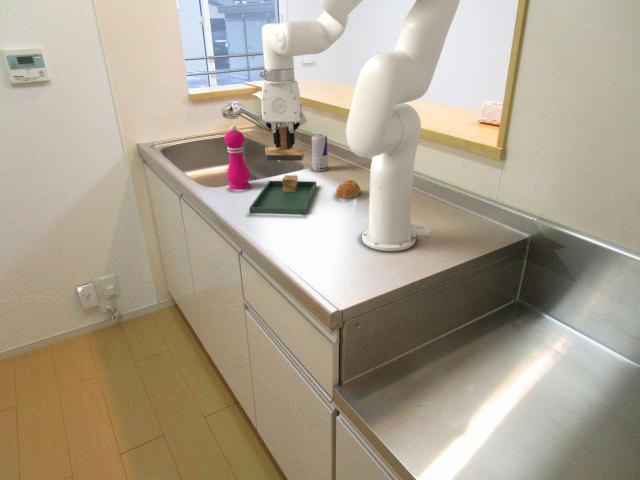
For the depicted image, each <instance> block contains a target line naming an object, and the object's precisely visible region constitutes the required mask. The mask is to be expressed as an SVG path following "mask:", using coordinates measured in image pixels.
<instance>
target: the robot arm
mask: <svg viewBox="0 0 640 480" xmlns="http://www.w3.org/2000/svg"><path fill="white" fill-rule="evenodd" d="M363 1H364V0H318V2H319V4H320V5H321V7H322V9H323V10H324V11H323V12H322V13H321V14H320V15H319V16H318V17H317V18H316V19H314V20H292V21H291V20H289V21H283V22H272V23H271V22H270V23H266V24H265V23H264V24H263V26H262V27H261V41H262V52H263V65H264V67H263V68H264V69H263V71H259V77H260V78H263V79H264V81H263V82H262V84H261V115H260V118H259V120H258V123H259V124H261V125H263V126H265V127H266V128H267V129H269V131H271V133H272V135H273V144H274V145H275V147H276V148H279V147H280V145H279V131H278V126H279V123H287V126H289V133H288V147H289V148H292V147H294V145H295V144H296V138H295V137H296V136H295V135H296V134H295V131H296V130H298V128H299V127H301V126H303V125H305V124H306V123H307V122H308V119H307V117H306V116H305V113H304V112H303V109H302V100H301V91H300V87H299V83H298V80H296V79H295V78H296V77H295V61H294V60H295V59H294V57H298V56H299V57H300V56H307V55H319V54H321V53H323V52H325V51H327V50H328V49H330V48H331V47H332V46H333V45H334V44H335V43H336V42H337V41H338V40H339V39H340V38H341V37H342V35H343V34H344V33H345V30H346V28H347V25H348V21H349V15H350V14H351V13H352V12H353V11H354V10H355V8H357V7H358V6H359V5H360V4H361V3H362V2H363ZM460 2H461V0H415V2H414V4H413V5H412V7H411V8H410V10H409V11H408V13H407V14H406V16H405V18H404V20H403V23H402V25H401V29H400V33H399V37H398V39H397V42H396V45H395V48H394V50H393V51H390V52H389V51H388V52H383V53H379V54H376V55H374V56H372V57H370V58H369V59H368V60H367V61H366V62H365V63H364V65H363V67H362V68H361V70H360V72H359V74H358V76H357V81H356V84H355V88H354V92H353V96H352V100H351V105H350V108H349V113H348V117H347V119H346V120H347V121H346V126H345V139H346V142H347V145H348V147H349V149H350V151H351V152H352V153H353V154H354V155H356V156H358V157H360V158H365V159H366V158H367V159H368V158H371V162H370V169H369V199H368V200H369V202H368V203H369V205H368V206H369V207H368V228H366V229H365V230H364V231H363V232H362V235H361V241H362V242H363V244H365V246H367V247H369V248H371V249H373V250H376V251H381V252H400V251H404V250H407V249H410V248H412V246H414V245H415V244H416V240H417V239H416V238H417V237H422V238H423V237H425V238H426V237H427V238H429V237H431V236H430V235H431V229H430V227H429V228H428V227H427V228H425V226H424V224H414V223H412V219H411V212H412V197H413V182H414V170H415V162H416V161H415V160H416V154H417V149H418V145H419V141H420V136H421V133H422V132H421V131H422V122H421V117H420V115H419V113H418V111H417V110H416V109H415V108H414V107H413V106H411V105H410V104H408V103H410V102H413V101H416V100H418V99H420V98H422V97H424V95H425V94H426V93H428V90H429V88H430V86H431V83H432V80H433V78H434V75H435V72H436V69H437V66H438V63H439V61H440V58H441V55H442V52H443V49H444V46H445V42H446V39H447V37H448V34H449V31H450V28H451V26H452V23H453V20H454V18H455V17H456V13H457V11H458V9H459V8H458V7H459V5H460Z"/></svg>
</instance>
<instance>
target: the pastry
mask: <svg viewBox="0 0 640 480" xmlns="http://www.w3.org/2000/svg"><path fill="white" fill-rule="evenodd" d="M360 191H361V187H360V185H359V184H358V182H357V181H356V180H353V179H348V180H343V182H341V183H340V184H339V185H338V187H337V188H336V197H337V198H338V199H339V200H347V199H351V198H353V197H354V198H356V197H357V196H358V195H359V194H360Z"/></svg>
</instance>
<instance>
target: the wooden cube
mask: <svg viewBox="0 0 640 480" xmlns="http://www.w3.org/2000/svg"><path fill="white" fill-rule="evenodd" d="M281 181H282V184H283V192H296V191H297V189H298V181H299V179H298V175H293V174H292V175H287V174H285V175H283V178H282V180H281Z"/></svg>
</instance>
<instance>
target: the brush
mask: <svg viewBox="0 0 640 480" xmlns="http://www.w3.org/2000/svg"><path fill="white" fill-rule="evenodd" d="M278 131H279V145H280V147H279V148H276V146H268V147H267V148H266V149H265V155H266V157H267V161H281V162H282V161H284V162H285V161H287V162H289V161H290V162H291V161H292V162H298V161H302V160H303V159H304V153H305V147H304V146H293V147H292V148H289V147H288V133H289V126H288V125H287V124H286V125H285V124H284V125H283V124H282V125H278Z"/></svg>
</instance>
